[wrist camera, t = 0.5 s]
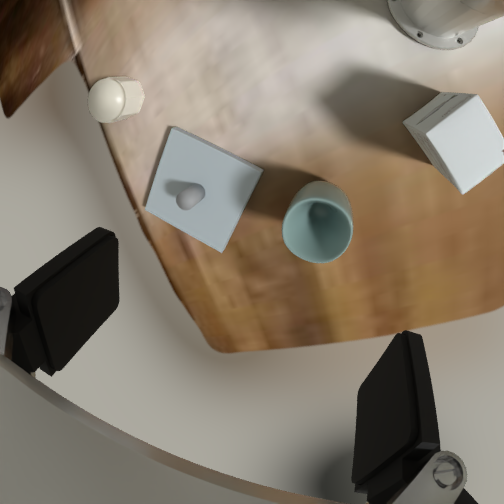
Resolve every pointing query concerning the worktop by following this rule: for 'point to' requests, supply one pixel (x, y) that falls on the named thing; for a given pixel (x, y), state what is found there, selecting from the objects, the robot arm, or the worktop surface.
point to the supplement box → (458, 138)
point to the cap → (115, 99)
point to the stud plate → (214, 179)
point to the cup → (318, 222)
